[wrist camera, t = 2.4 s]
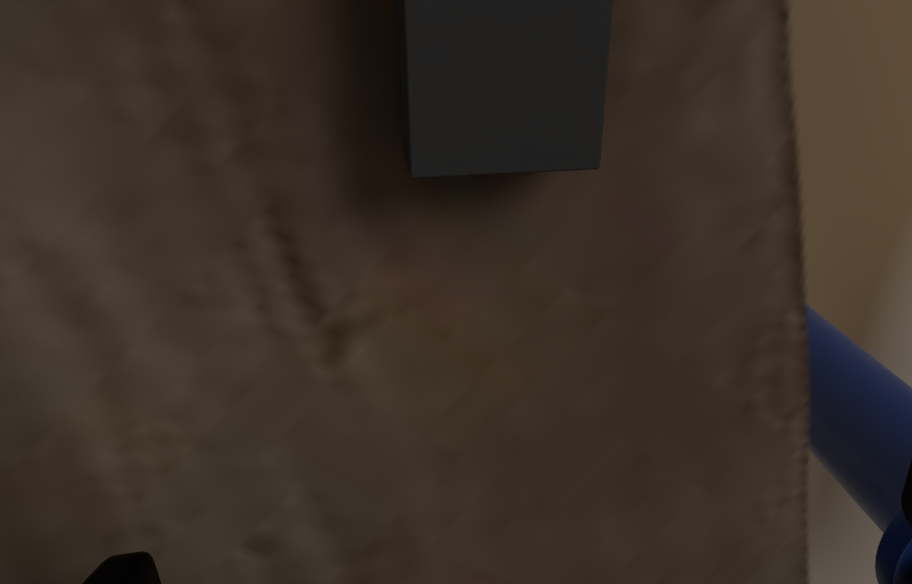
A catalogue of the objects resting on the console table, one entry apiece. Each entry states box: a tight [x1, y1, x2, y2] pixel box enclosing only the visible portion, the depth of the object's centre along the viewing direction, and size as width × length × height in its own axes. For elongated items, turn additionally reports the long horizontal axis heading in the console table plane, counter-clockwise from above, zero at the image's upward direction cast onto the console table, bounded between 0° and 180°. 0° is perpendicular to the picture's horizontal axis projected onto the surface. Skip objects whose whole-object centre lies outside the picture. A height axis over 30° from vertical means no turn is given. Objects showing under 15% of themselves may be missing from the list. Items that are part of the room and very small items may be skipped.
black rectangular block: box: [397, 0, 613, 178], centre depth 17 cm, size 6×4×2 cm
